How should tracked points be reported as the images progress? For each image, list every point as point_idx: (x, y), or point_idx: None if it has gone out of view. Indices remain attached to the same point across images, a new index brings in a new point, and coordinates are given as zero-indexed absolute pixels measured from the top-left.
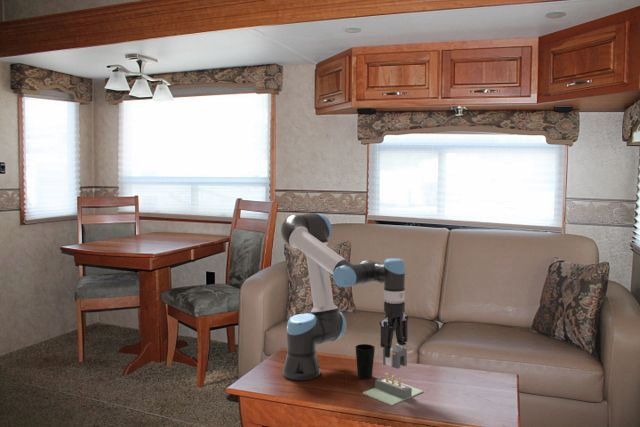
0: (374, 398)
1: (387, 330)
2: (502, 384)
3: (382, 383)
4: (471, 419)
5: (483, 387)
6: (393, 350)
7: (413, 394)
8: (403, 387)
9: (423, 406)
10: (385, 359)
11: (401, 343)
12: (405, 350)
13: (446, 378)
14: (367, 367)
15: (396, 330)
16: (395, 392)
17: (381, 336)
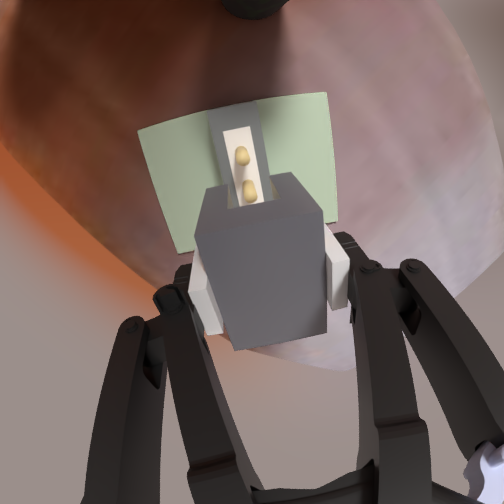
0: (154, 185)
1: (153, 488)
2: (472, 270)
3: (216, 150)
4: (298, 357)
5: (448, 266)
6: (235, 317)
7: None
8: None
9: None
10: None
11: (351, 307)
12: (314, 331)
13: (451, 183)
14: (244, 6)
15: (366, 399)
16: None
17: (105, 408)
